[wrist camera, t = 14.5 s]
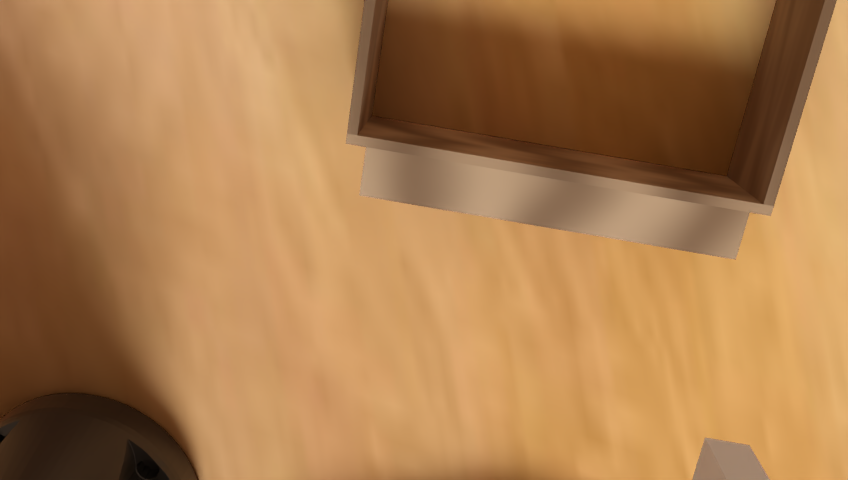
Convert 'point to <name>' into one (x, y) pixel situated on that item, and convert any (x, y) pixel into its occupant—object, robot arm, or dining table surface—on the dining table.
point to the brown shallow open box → (597, 157)
